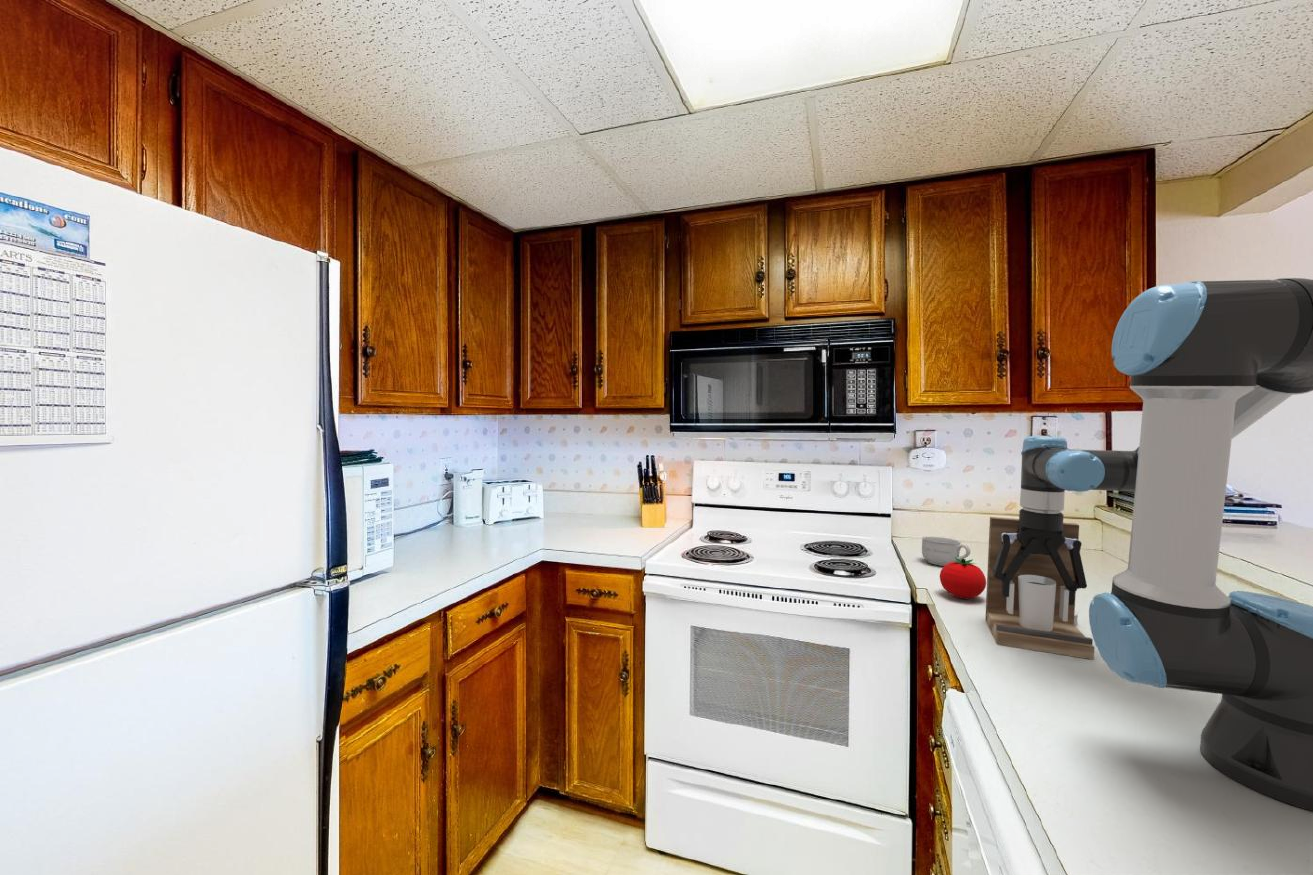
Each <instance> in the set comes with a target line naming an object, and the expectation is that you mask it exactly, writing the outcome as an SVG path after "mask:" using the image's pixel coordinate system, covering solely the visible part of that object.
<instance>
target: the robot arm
mask: <svg viewBox="0 0 1313 875" xmlns="http://www.w3.org/2000/svg"><path fill="white" fill-rule="evenodd" d="M1111 358H1112V359H1113V365H1114V367H1115V369H1117V370H1118V372H1120V373H1122V374H1124V375H1127V376H1129V377H1130V382H1129V383H1130V384H1129V389H1131V390H1132V391H1133V392H1134V393H1135V394H1136V395H1138V396H1139V397H1140V398H1141V400H1142V402H1143V403H1142V411H1141V412H1142V413H1141V421H1140V422H1141V424H1140V435H1139V444H1138V446H1137V448H1136V449H1134V450H1105V449H1104V450H1102V449H1101V450H1100V449H1099V450H1098V449H1096V450H1095V449H1069V448H1068V440H1067V439H1066V438H1065V437H1060V436H1043V435H1042V436H1040V435H1039V436H1034V435H1033V436H1031V435H1030V436H1027V437H1024V439H1023V442H1022V449H1021V452H1020V454H1021V472H1020V493H1019V494H1020V496H1019V506H1020V507H1021V508H1020V510H1019V511H1018V514H1019V515H1018V516H1019V517H1018V519H1019V528H1018V530H1017V532H1016V533H1005V532H1002V533H1001V542H1002V543H1001V546H1000V549H999V552H998V555H997V559H996V562H995V565H994V568H993V571H992V574H993V575H994V577H995V578H997V579H1000V580H1002V591H1001V592H1002V595H1003V596H1004V597H1007V603H1006V610H1007V611H1008V613H1009V614H1013V605H1014V583H1013V582H1012V581H1011V580H1012V578H1013V577H1014V575H1015V574H1016V572H1017V571H1018V569H1019V568H1020V566H1021V565H1022V564H1023V562H1024V561H1025V559H1026V558H1027V557H1028V556H1029V555H1030V553H1031V554H1043V555H1048V556H1049V555H1050V557H1051V558H1052V560H1053V562H1054V564H1055V566H1056V568H1057V570H1058V572H1059V574H1060V576H1061V577H1062V579H1063V581H1064V583H1065V585H1066V587H1063V586H1061V590H1060V609H1059V617H1060V618H1061V619H1062V620H1063V621H1066V622H1068V605H1073V604H1074V600H1075V601H1076V595H1075V591H1076V592H1077V591H1078V590H1079V589H1083V590H1085V589H1086V588H1087V586H1088V585H1087V579H1086V574H1085V570H1084V566H1083V565H1084V564H1083V561H1082V555H1081V547H1082V542H1081V540H1079V539H1078V540H1077V539H1076V538H1072V539H1070V538H1065V537H1064V535H1063V523H1064V514H1063V512H1062V511H1064V510H1065V493H1066V492H1065V491H1067V492H1077V493H1082V492H1083V493H1084V492H1088V491H1108V492H1109V491H1111V492H1112V491H1113V492H1115V491H1116V492H1117V491H1118V492H1133V493H1134V499H1133V509H1132V518H1131V519H1132V520H1131V530H1130V543H1129V544H1130V545H1129V553H1128V564H1127V568H1126V569H1125V570H1123V571H1120V572H1119V573H1118V574H1116V575H1114V576H1113V577H1112V581H1111V582H1112V583H1111V591H1110V593H1109V592H1102V593H1099V594H1096V595H1094V596H1093V597H1092V600H1090V604H1089V607H1088V619H1089V620H1088V621H1089V626H1090V631H1091V635H1092V640H1093V641H1094V644H1095V646H1096V648H1097V651H1098V653H1099V655H1100V656H1101V658H1102V660H1103V661H1104V663H1105V664H1106V665H1107V667H1109V669H1110V670H1111V671H1112V672H1113V673H1114V674H1115V675H1117V676H1118V677H1120V678H1121V679H1122V680H1125V681H1127V682H1130V683H1134V684H1135V683H1136V684H1142V685H1146V686H1147V685H1148V686H1152V687H1154V688H1157V689H1165V688H1167V689H1175V690H1184V691H1193V692H1202V693H1211V694H1220V695H1221V698H1220V702H1219V703H1218V705H1217V707H1216V708H1215V710H1214V711H1213V713H1212V714H1211V716H1210V717H1209V719H1208V721H1207V722H1206V724H1205V726H1204V727H1203V728H1202V730H1201V733H1200V743H1199V751H1200V753H1201V755H1202V756H1203V758H1205V759H1206V760H1207V762H1208V763H1210V764H1211V765H1212V766H1214V767H1215V768H1216V769H1217V770H1218V771H1220V772H1221V773H1223V774H1225V775H1227V776H1228V777H1229V778H1231V779H1233V781H1236V782H1238V783H1240V784H1242V785H1244V786H1246V787H1248V788H1250V789H1252V790H1254V791H1257V792H1259V793H1261V794H1263V795H1265V796H1268V797H1270V798H1273V799H1276V800H1278V801H1281V802H1284V803H1287V804H1289V805H1292V806H1295V807H1298V808H1301V809H1305V810H1309V811H1312V812H1313V606H1312V605H1308V604H1304V603H1301V602H1298V601H1293V600H1289V599H1286V598H1282V597H1277V596H1273V595H1272V596H1271V595H1268V594H1264V593H1257V592H1252V591H1244V590H1236V591H1234V590H1233V591H1231V592H1229V594H1228V596H1227V595H1226V593H1224V592H1223V591H1222V590H1221V589H1220V588H1219V587H1218V586H1217V584H1216V583H1217V572H1218V565H1219V556H1220V555H1219V554H1220V548H1221V547H1220V546H1221V538H1222V537H1221V536H1222V530H1223V529H1222V528H1223V521H1224V520H1223V519H1224V518H1223V517H1224V510H1225V502H1226V501H1225V500H1226V494H1227V483H1228V475H1229V474H1228V473H1229V468H1230V467H1229V465H1230V458H1231V457H1230V456H1231V447H1232V440H1233V439H1234V438H1235V437H1237V436H1239V435H1240V434H1241V433H1242V432H1244V431H1245V430H1247V429H1248V428H1249V427H1251V426H1252V425H1253V424H1255V423H1257V421H1259V420H1260V419H1262V418H1263V417H1264V416H1265V415H1267V414H1269V413H1270V412H1271V411H1272V410H1274V409H1275V408H1276V407H1278V406H1279V405H1280V404H1282V403H1284V402H1285V401H1286V400H1288V399H1289V398H1290V397H1292V396H1295V395H1296V396H1297V395H1303V394H1307V393H1310V392H1313V279H1311V278H1310V279H1309V278H1300V277H1290V278H1289V277H1288V278H1284V277H1283V278H1276V279H1246V280H1244V279H1242V280H1237V279H1235V280H1206V281H1205V280H1203V281H1202V280H1201V281H1198V280H1193V281H1187V282H1178V283H1171V284H1170V283H1169V284H1163V285H1162V284H1160V285H1157V286H1154V287H1151V288H1148V289H1146V290H1144V291H1143V292H1142V293H1140V294H1139V295H1138V296H1136V297H1135V298H1134V299H1133V300H1131V302H1130V303H1129V305H1128V306H1127V308H1126V309H1125V310H1124V311H1123V313H1122V315H1121V316H1120V318H1119V320H1118V322H1117V324H1116V327H1115V330H1114V333H1113V337H1112V342H1111ZM1015 539H1018V541H1019V542H1020V543H1021V544H1022V545H1021V547H1020V548H1019V550H1018V552H1017V554H1016V555H1015V557H1014V558H1013V560H1012V561H1011V563H1010V564H1009V566H1008V567H1007V569H1006V570H1005V572H1004V573H1002V571H1003V568H1004V565H1005V562H1006V559H1007V556H1008V552H1009V549H1010V544H1012V543H1013V542H1014V540H1015ZM1064 543H1066V547H1067V548H1069V553H1070V558H1071V562H1072V567H1073V572H1074V576H1075V581H1072V579H1071V577H1070V575H1069V573H1068V571H1067V569H1066V567H1065V565H1064V563H1063V561H1062V560H1061V557H1060V555H1059V553H1058V551H1057V549H1058V548H1059V547H1060V546H1061V545H1062V544H1064Z"/></svg>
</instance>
